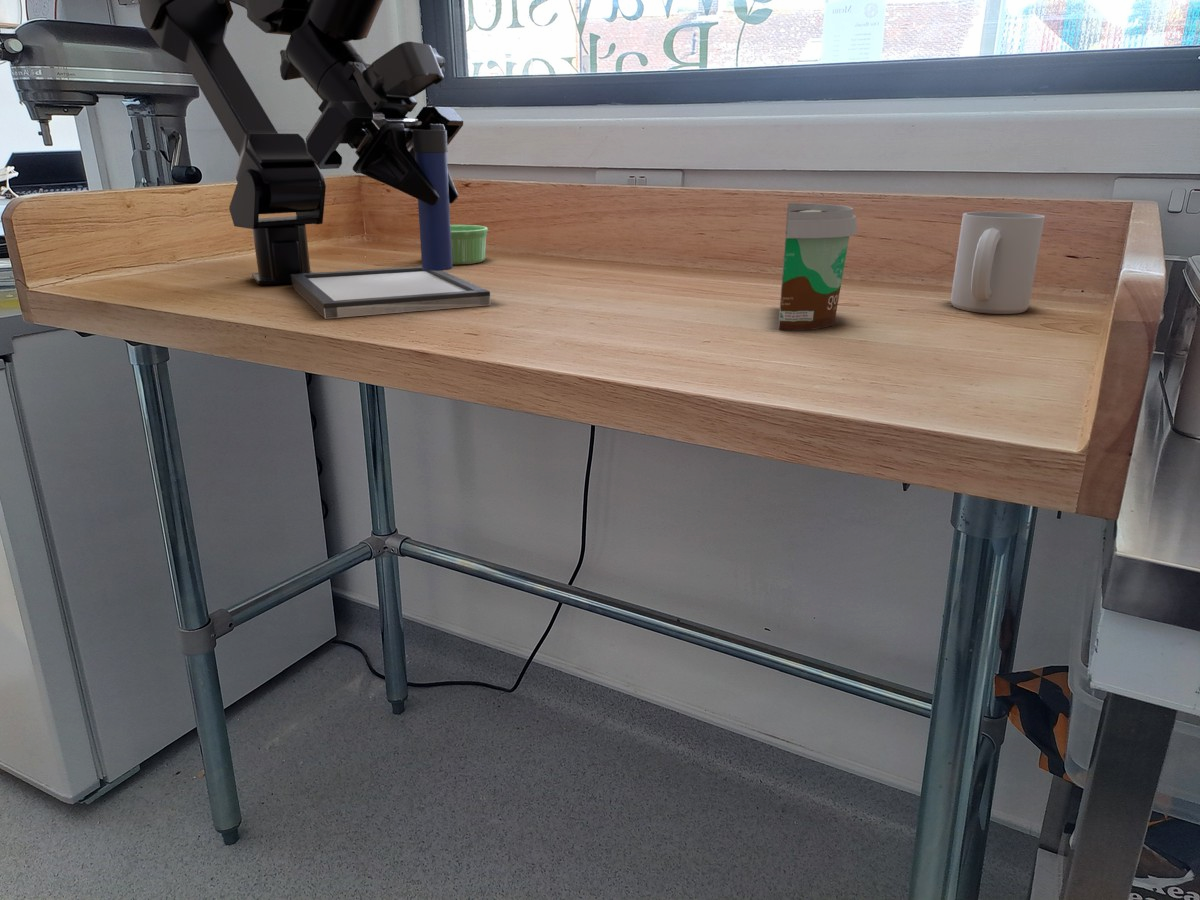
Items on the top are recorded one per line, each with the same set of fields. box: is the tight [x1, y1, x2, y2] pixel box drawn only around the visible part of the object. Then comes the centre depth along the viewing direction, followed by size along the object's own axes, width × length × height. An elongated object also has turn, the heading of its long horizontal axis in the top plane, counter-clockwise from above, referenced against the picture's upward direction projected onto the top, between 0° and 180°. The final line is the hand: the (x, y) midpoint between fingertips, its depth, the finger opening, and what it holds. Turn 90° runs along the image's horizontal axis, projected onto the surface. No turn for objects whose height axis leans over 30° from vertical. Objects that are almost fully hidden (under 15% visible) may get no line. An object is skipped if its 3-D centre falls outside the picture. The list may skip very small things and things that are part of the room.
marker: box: [412, 130, 454, 272], centre depth 83 cm, size 3×3×13 cm
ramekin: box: [450, 224, 489, 266], centre depth 115 cm, size 9×9×4 cm
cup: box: [950, 211, 1046, 315], centre depth 82 cm, size 7×10×9 cm
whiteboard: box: [291, 265, 492, 320], centre depth 90 cm, size 20×16×1 cm
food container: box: [778, 202, 859, 331], centre depth 77 cm, size 12×6×10 cm, turn 168°
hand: (445, 201), depth 83 cm, fingers closed on marker, 3 cm apart
